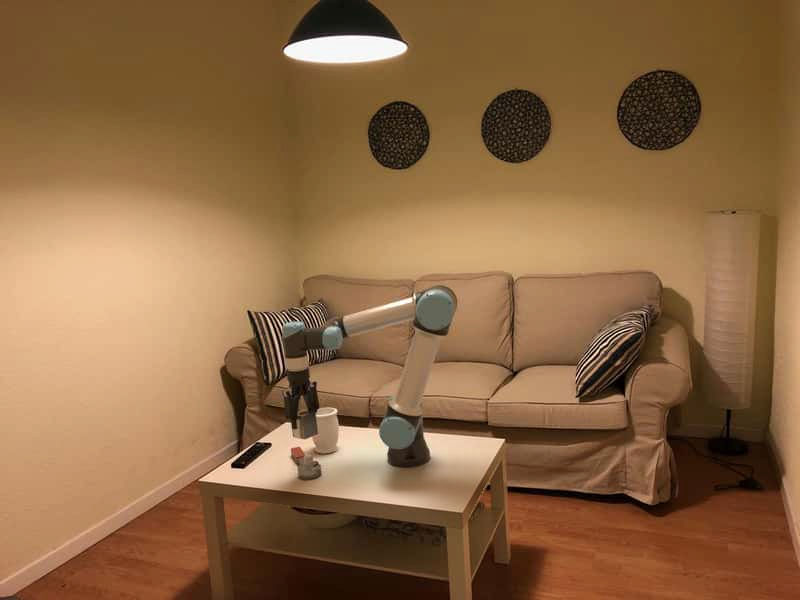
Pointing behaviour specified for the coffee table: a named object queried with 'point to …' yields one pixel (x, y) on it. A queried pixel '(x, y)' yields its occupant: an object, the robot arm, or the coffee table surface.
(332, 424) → the jar
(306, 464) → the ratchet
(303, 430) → the grey block
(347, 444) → the coffee table surface
